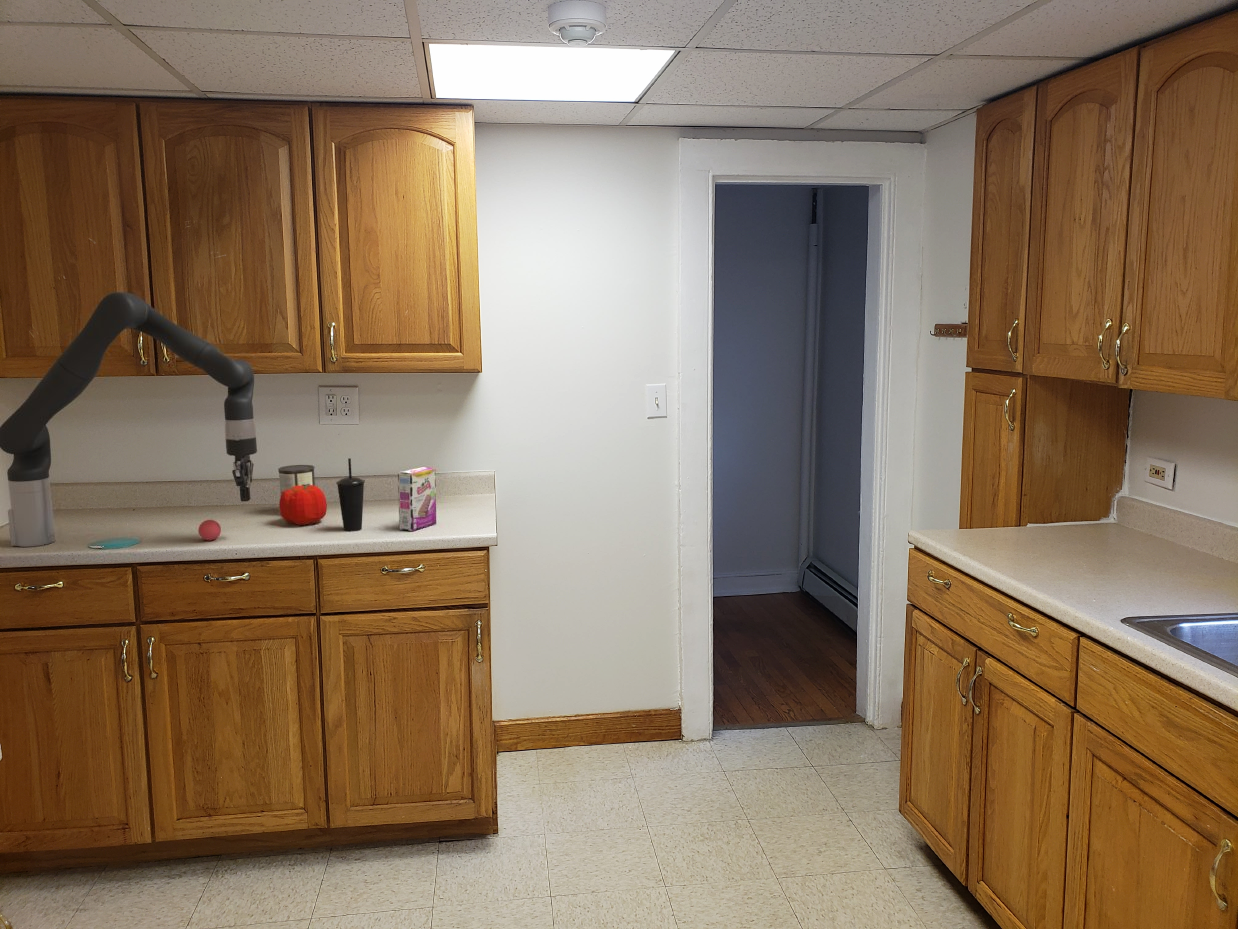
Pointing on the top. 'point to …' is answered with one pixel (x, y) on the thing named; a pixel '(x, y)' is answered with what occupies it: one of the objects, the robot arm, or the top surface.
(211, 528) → the ball
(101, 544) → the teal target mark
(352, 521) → the drinking cup
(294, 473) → the coffee can
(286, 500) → the tomato
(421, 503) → the candy bar box
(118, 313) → the robot arm
